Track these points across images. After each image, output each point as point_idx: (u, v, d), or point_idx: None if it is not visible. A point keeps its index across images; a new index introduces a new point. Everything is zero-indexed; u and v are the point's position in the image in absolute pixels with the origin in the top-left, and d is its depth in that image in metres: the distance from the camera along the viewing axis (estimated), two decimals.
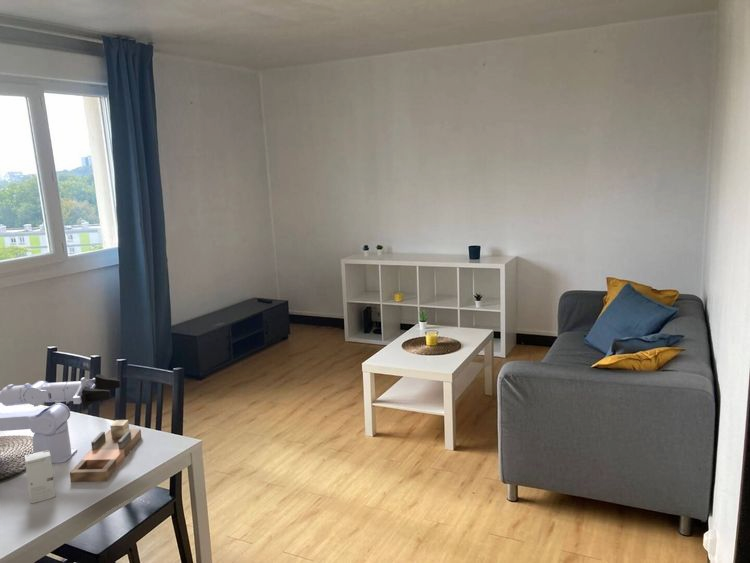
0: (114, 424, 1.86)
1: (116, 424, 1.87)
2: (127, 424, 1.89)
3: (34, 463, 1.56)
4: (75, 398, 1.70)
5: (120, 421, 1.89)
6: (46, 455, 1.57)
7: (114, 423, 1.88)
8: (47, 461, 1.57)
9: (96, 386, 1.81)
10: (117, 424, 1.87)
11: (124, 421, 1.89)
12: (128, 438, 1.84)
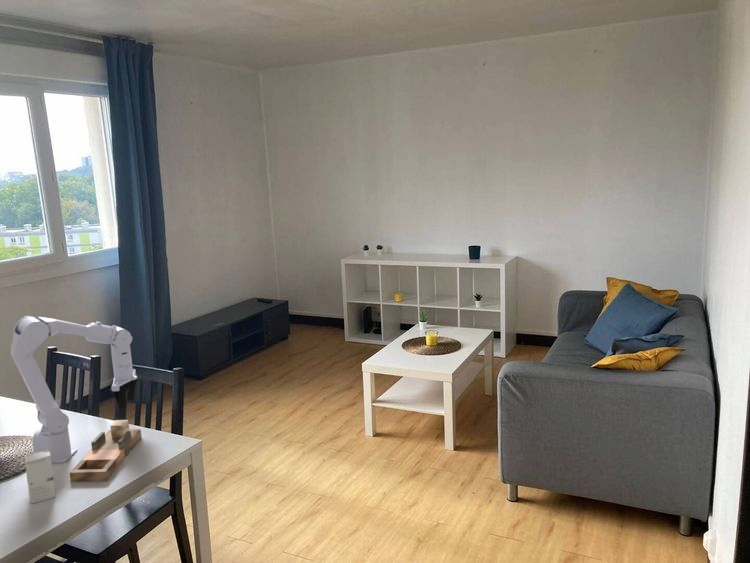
0: (114, 424, 1.86)
1: (116, 424, 1.87)
2: (127, 424, 1.89)
3: (34, 463, 1.56)
4: (116, 387, 1.85)
5: (120, 421, 1.89)
6: (46, 455, 1.57)
7: (114, 423, 1.88)
8: (47, 461, 1.57)
9: None
10: (117, 424, 1.87)
11: (124, 421, 1.89)
12: (128, 438, 1.84)
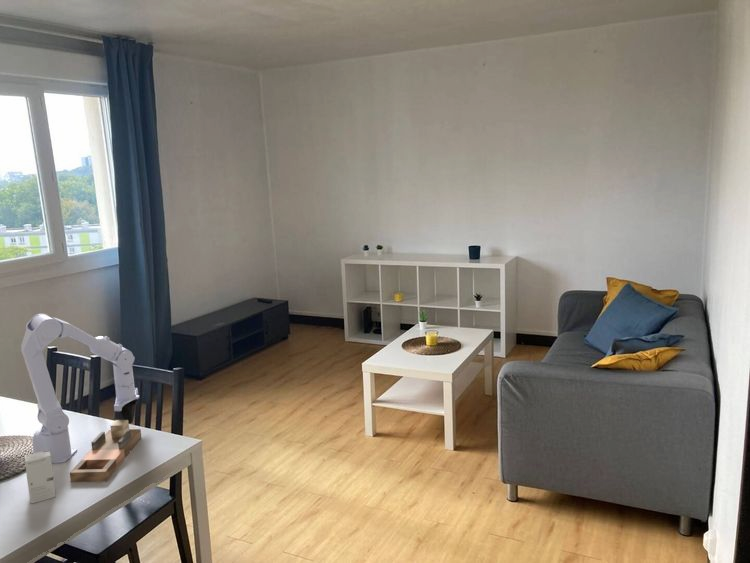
0: (114, 424, 1.86)
1: (116, 424, 1.87)
2: (127, 424, 1.89)
3: (34, 463, 1.56)
4: (119, 407, 1.87)
5: (120, 421, 1.89)
6: (46, 455, 1.57)
7: (114, 423, 1.88)
8: (47, 461, 1.57)
9: None
10: (117, 424, 1.87)
11: (124, 421, 1.89)
12: (128, 438, 1.84)
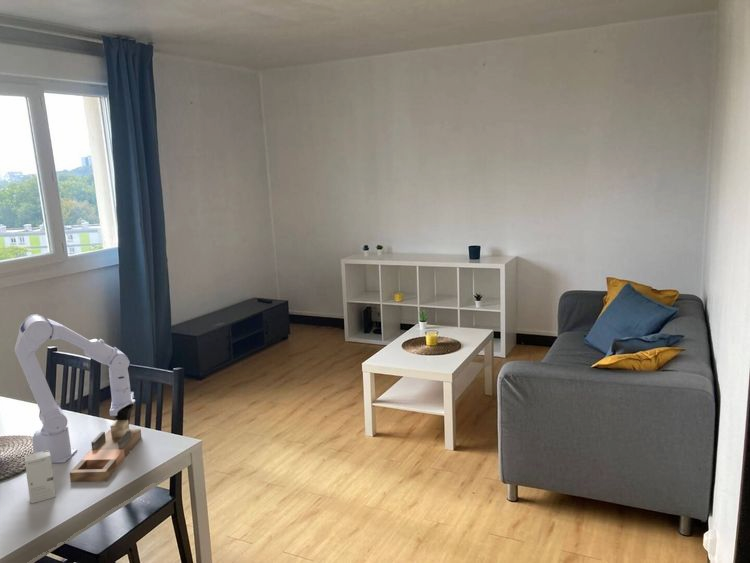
0: (114, 424, 1.86)
1: (116, 424, 1.87)
2: (127, 424, 1.89)
3: (34, 463, 1.56)
4: (114, 412, 1.83)
5: (120, 421, 1.89)
6: (46, 455, 1.57)
7: (114, 423, 1.88)
8: (47, 461, 1.57)
9: None
10: (117, 424, 1.87)
11: (124, 421, 1.89)
12: (128, 438, 1.84)
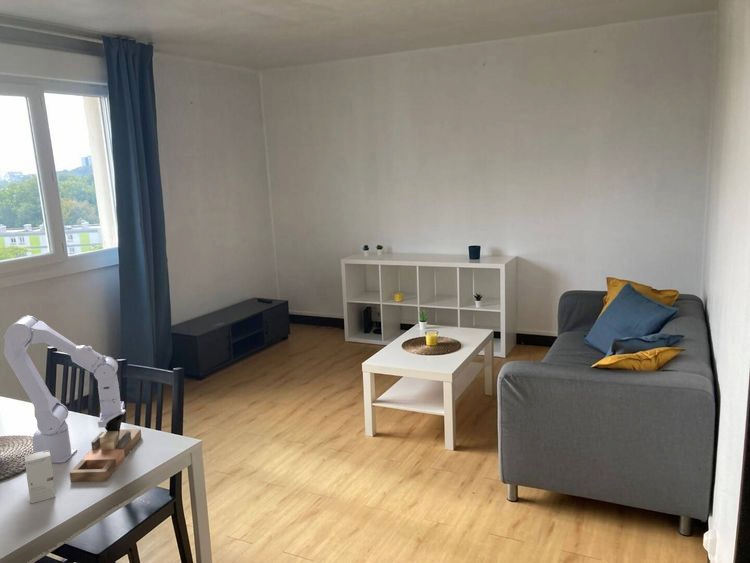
0: (104, 436, 1.79)
1: (106, 435, 1.79)
2: (117, 435, 1.82)
3: (34, 463, 1.56)
4: (103, 423, 1.75)
5: (110, 432, 1.81)
6: (46, 455, 1.57)
7: (104, 434, 1.80)
8: (47, 461, 1.57)
9: None
10: (107, 435, 1.79)
11: (114, 432, 1.81)
12: (128, 438, 1.84)
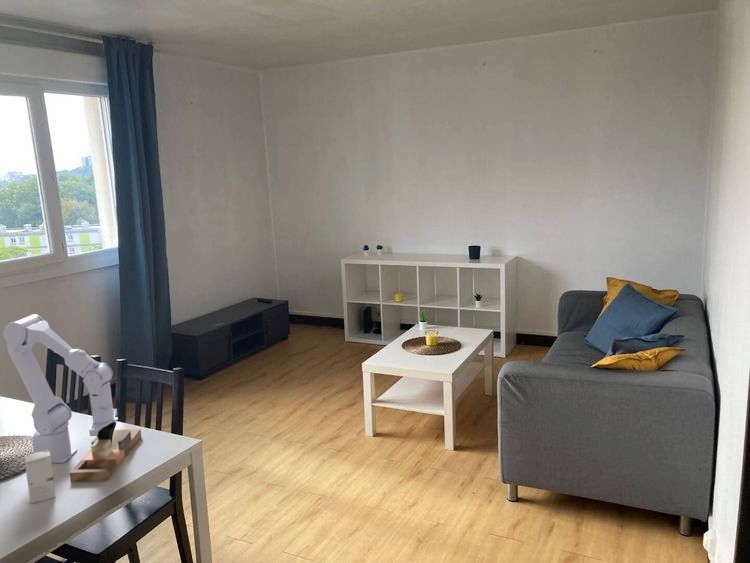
0: (96, 445, 1.73)
1: (98, 444, 1.74)
2: (109, 444, 1.76)
3: (34, 463, 1.56)
4: (95, 432, 1.70)
5: (102, 441, 1.76)
6: (46, 455, 1.57)
7: (96, 443, 1.75)
8: (47, 461, 1.57)
9: None
10: (99, 444, 1.74)
11: (106, 441, 1.76)
12: (128, 438, 1.84)
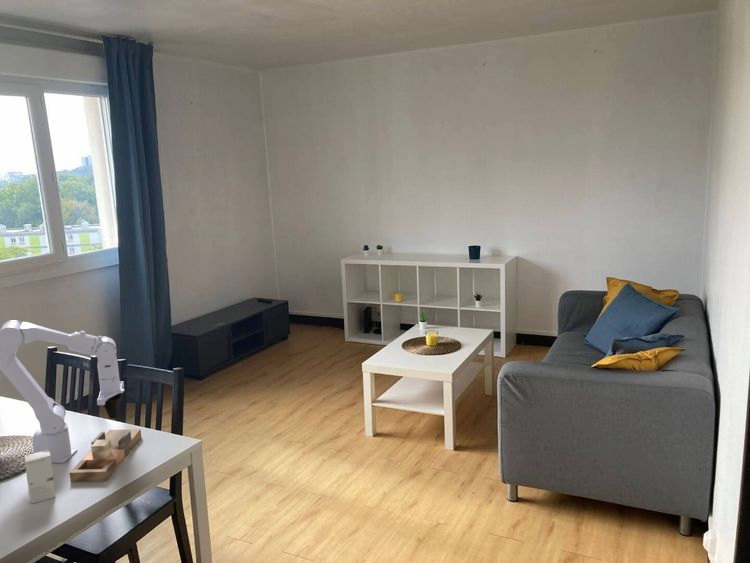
0: (96, 445, 1.73)
1: (98, 444, 1.74)
2: (109, 444, 1.76)
3: (34, 463, 1.56)
4: (102, 401, 1.77)
5: (102, 441, 1.76)
6: (46, 455, 1.58)
7: (96, 443, 1.75)
8: (47, 461, 1.57)
9: None
10: (99, 444, 1.74)
11: (106, 441, 1.76)
12: (128, 438, 1.84)
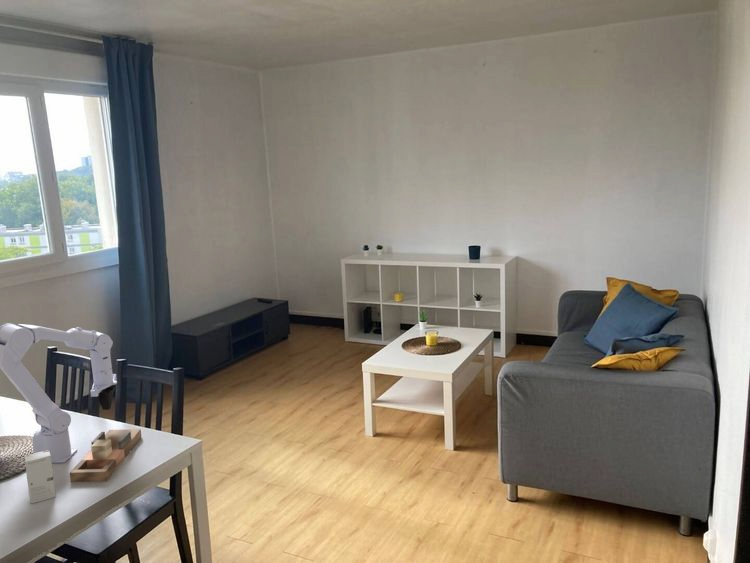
0: (96, 445, 1.73)
1: (98, 444, 1.74)
2: (109, 444, 1.76)
3: (34, 463, 1.56)
4: (95, 392, 1.84)
5: (102, 441, 1.76)
6: (46, 455, 1.58)
7: (96, 443, 1.75)
8: (47, 461, 1.57)
9: None
10: (99, 444, 1.74)
11: (106, 441, 1.76)
12: (128, 438, 1.84)
